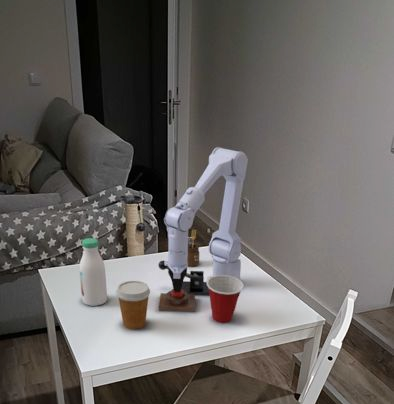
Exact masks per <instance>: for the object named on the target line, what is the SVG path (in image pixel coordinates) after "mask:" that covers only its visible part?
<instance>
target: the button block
mask: <svg viewBox="0 0 394 404" xmlns="http://www.w3.org/2000/svg"><path fill="white" fill-rule="evenodd" d="M195 310H196V295H195V294H188V293H187V292H185V291H184V297H183V298H173V297H171V290H169V291H168V292H166V293H165V292H160V296H159V302H158V312H177V313H195Z"/></svg>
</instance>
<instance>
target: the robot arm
mask: <svg viewBox="0 0 394 404" xmlns="http://www.w3.org/2000/svg"><path fill="white" fill-rule="evenodd" d="M248 161H249V158H248V157H247V155H246V153H245V152H243V151H238V150H233V149H227V148H223V147H221V146H217V147H215V148H214V149H213V150H212V152H211V153H210V155H209V156H208V165H207V167H206V168H205V170H204V171H203V173H202V174H201V176H200V177H199V179H198V181H197V183H196V184H195V186H190V187H188V188H187V190H186V191H185V193H184V194H183V195H182V197H180V199H179V200H178V202H177V203H176V205H175V206H172V207H169V208H168V209H167V210H166V213H165V215H164V218H163V222H164V225H165V226H166V231H167V233H168V237H167V238H168V245H167V246H168V251H167V253H168V258H167V260H164V261H165V262H164V265H165V266H168V267H169V269H167V274H168V276H169V277H170V280H171V284H172V289H174V291H181V288H182V284H183V281H184V280H185V278H186V277H185V276H186V274H187V273H188V267H189V266H188V262H187V257H188V244H189V230H190V229H191V228H192V226H193V223H194V219H195V216H196V213H197V211H199V209H200V207H201V206H202V205H203V204H204V202H205V200H206V198H205V197H206V196H205V194H206V193H207V192H208V190H209V189H210V188H211V187H212V186H213V185H214V183H216V181H217V180H218V179H219V178H220V177H223V179H225V187H224V194H223V199H222V200H223V201H222V207H221V213H220V220H219V226H218V229H217V230H215V231H214V232H212V236H211V239H210V241H209V244H208V252H209V254H210V255H211V258H212V259H213V261H212V275H211V277H213V276H216V275H228V276H232V277H235V278H237V279H239V280H241V271H242V270H241V267H242V266H241V264H242V262H241V261H242V260H241V259H240V256H241V253H242V245H241V244H242V243H241V242H242V238H241V237H240V236H239V234H238V233H237V232H236V230H237V229H236V228H237V223H238V217H239V211H240V206H241V205H240V204H241V199H242V198H241V196H242V193H243V186H244V182H245V181H244V180H245V179H246V174H247V168H248V163H249V162H248Z"/></svg>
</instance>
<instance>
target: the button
mask: <svg viewBox="0 0 394 404" xmlns="http://www.w3.org/2000/svg"><path fill="white" fill-rule="evenodd" d="M170 291H171V297H173V298H183V297H184V290H182V289H181V291H174V289H173V288H171V290H170Z"/></svg>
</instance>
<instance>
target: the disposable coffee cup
mask: <svg viewBox="0 0 394 404" xmlns="http://www.w3.org/2000/svg"><path fill="white" fill-rule="evenodd" d="M115 294H116V296H117V298H118V303H119V308H120V313H121V319H122V324H123V327H124V328H125V329H127V330H131V331H132V330H133V331H135V330H141V329H143V328H144V327H145V326H146V320H147V311H148V304H149V296H150V295H151V290H150V287H149V285H148V284H147V283H145V282H144V281H140V280H126V281H123V282H121V283H119V284H118V285H117V289H116V290H115Z"/></svg>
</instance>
